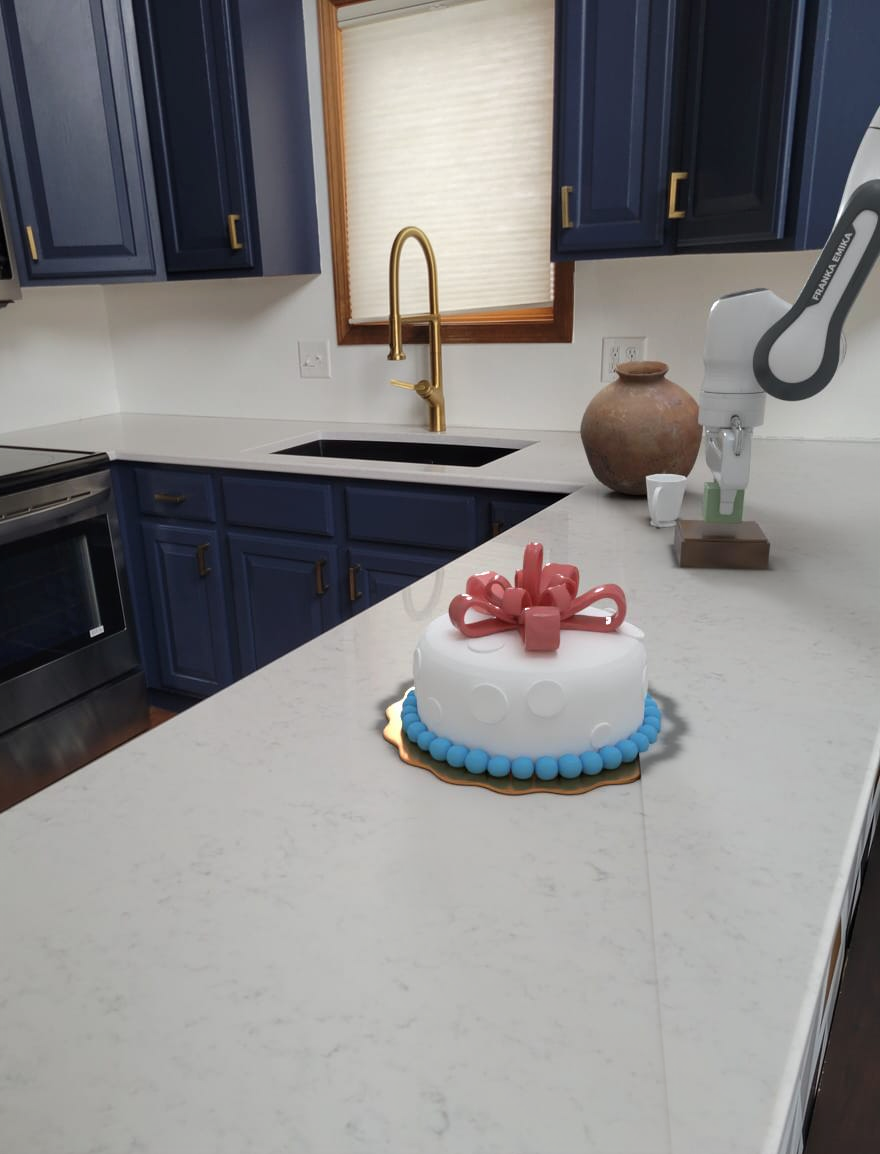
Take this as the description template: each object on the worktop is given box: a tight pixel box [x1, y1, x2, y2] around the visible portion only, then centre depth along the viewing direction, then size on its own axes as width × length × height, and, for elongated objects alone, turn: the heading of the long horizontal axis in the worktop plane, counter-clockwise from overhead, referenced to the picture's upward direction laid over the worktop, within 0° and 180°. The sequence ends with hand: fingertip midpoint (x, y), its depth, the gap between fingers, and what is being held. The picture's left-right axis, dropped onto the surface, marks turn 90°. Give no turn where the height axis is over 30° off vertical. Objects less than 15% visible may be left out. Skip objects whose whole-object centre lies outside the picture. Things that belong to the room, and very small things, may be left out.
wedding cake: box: [382, 541, 663, 795], centre depth 89 cm, size 28×28×18 cm
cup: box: [646, 474, 688, 529], centre depth 162 cm, size 7×10×8 cm
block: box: [701, 481, 746, 524], centre depth 139 cm, size 5×5×5 cm
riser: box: [672, 519, 771, 570], centre depth 141 cm, size 12×12×5 cm
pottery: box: [579, 360, 704, 496], centre depth 185 cm, size 23×23×25 cm
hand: (722, 508), depth 139 cm, fingers closed on block, 5 cm apart
